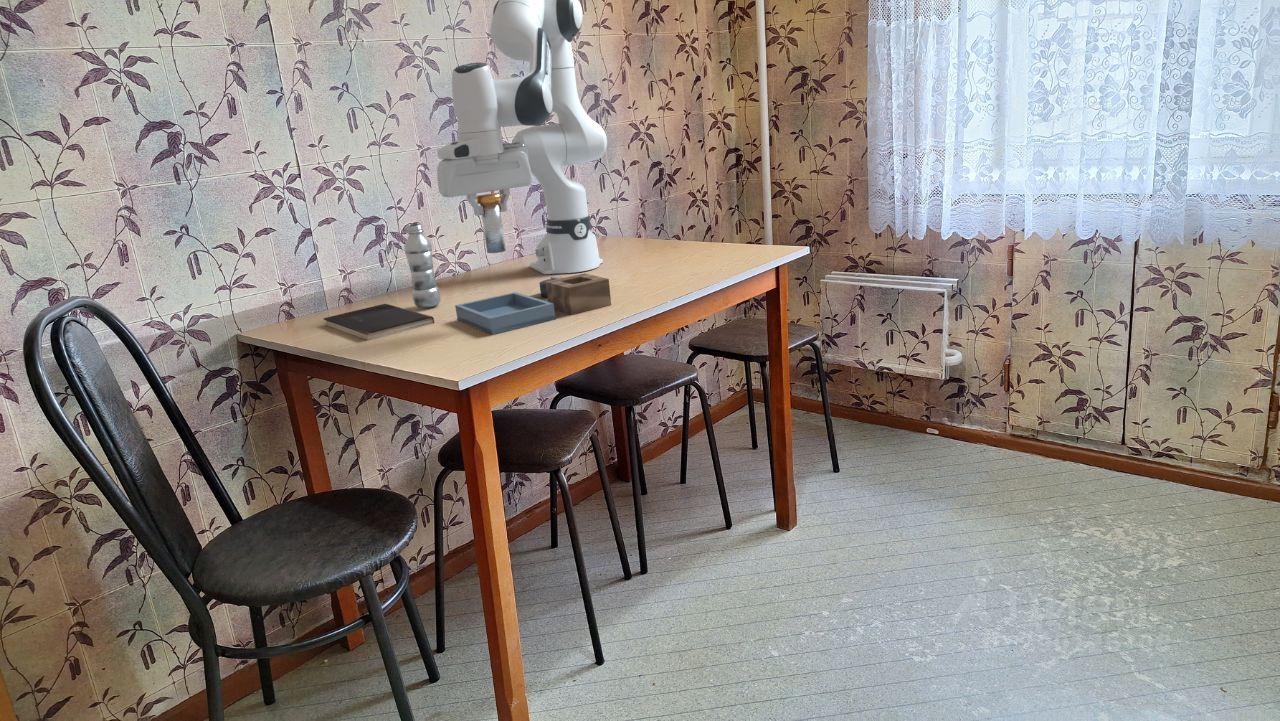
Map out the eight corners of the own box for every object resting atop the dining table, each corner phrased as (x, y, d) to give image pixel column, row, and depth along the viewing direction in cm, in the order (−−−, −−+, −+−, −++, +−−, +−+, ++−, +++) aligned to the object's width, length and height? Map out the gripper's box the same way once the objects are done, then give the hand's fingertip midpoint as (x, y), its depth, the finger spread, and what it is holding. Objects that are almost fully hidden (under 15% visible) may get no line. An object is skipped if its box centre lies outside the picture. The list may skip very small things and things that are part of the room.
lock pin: (480, 252, 179) (472, 196, 175) (502, 248, 181) (494, 192, 178) (490, 254, 174) (482, 197, 171) (512, 250, 177) (505, 193, 174)
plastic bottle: (447, 303, 203) (434, 221, 197) (432, 310, 197) (418, 226, 191) (424, 303, 205) (410, 222, 199) (409, 310, 199) (394, 227, 193)
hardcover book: (367, 343, 176) (365, 333, 175) (325, 327, 193) (323, 318, 192) (435, 325, 186) (433, 315, 185) (389, 312, 202) (387, 302, 202)
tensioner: (530, 301, 197) (527, 277, 196) (567, 293, 203) (565, 268, 201) (571, 314, 182) (568, 288, 180) (611, 304, 187) (608, 278, 186)
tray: (457, 320, 186) (455, 305, 185) (517, 306, 194) (515, 292, 193) (492, 334, 172) (489, 318, 171) (555, 319, 179) (553, 303, 178)
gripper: (519, 141, 179) (527, 205, 184) (429, 151, 169) (440, 219, 173) (533, 140, 174) (541, 207, 179) (441, 151, 164) (452, 221, 168)
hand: (490, 213), depth 176 cm, fingers closed on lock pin, 4 cm apart
